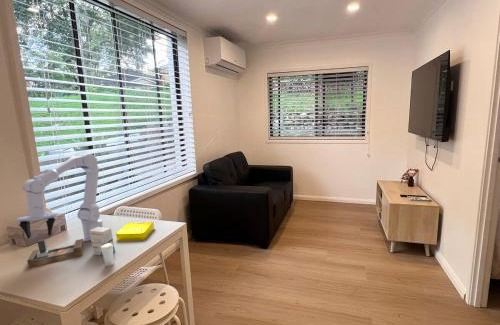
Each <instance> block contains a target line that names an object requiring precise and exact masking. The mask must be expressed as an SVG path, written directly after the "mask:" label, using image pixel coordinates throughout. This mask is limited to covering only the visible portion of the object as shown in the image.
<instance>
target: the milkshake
mask: <svg viewBox="0 0 500 325" xmlns="http://www.w3.org/2000/svg"><path fill="white" fill-rule="evenodd" d="M98 244H99V243H98ZM99 245H100V244H99ZM100 247H101V245H100ZM101 251H102V254H103V255H102V258H103V262H104V266H105V267H112V266H114V263H115V261H114V252H113V245H112V244H111V243H107V244H104V245H103V246H102V247H101Z"/></svg>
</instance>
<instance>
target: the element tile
mask: <svg viewBox="0 0 500 325" xmlns="http://www.w3.org/2000/svg"><path fill="white" fill-rule="evenodd" d="M154 230H155V224H154V222H153V221H138V222H137V221H136V222H135V221H134V222H127V223H126V224H125V225H124V226H123V227H121V228H120V229H118V231H116V233H115V236H116V240H117V242H128V241H129V242H131V241H132V242H133V241H144V240H146V239H147V238H148V237H149V236H150V235H151V234H152V233H153V231H154Z"/></svg>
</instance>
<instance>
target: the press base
mask: <svg viewBox="0 0 500 325" xmlns="http://www.w3.org/2000/svg"><path fill="white" fill-rule="evenodd" d="M83 239H84V238H80V239H76V240H75V243H74V244H72V245H71V244H70V245H65V246H61V247H58V248H53V249H52V248H51V253H50V255H49V257H44V258H40V259H37V253H38V251H39V249H35V250H32V252H31V253H30V255H29V257H28V259H27V265H28V268H33V267H37V266H42V265H45V264H46V265H47V264H50V263H51V264H52V263H55V262H58V261H62V260H68V259H71V258H77V257H81V256H83V254H84V249H85V244H84V242H85V241H84V242H83Z"/></svg>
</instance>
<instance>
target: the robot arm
mask: <svg viewBox="0 0 500 325" xmlns="http://www.w3.org/2000/svg"><path fill="white" fill-rule="evenodd" d="M74 167H79V168H81V169H82V170H83V171H84V172H85V173H86V176H85V182H84V183H85V184H84V185H85V186H84V195H83V202H82V203H81V204H80V206H79V210H78V211H77V214H76V215H77V218H78V219H79V220H80V222H81V226H82V232H83V238H82V239H83V242H88V241H91V238H90V233H89V231H90V230H92V229H94V228H96V227H104V223H103V219H102V218H101V219H100V209H99V208H100V207H99V206H98V204H97V203H96V202H97V192H98V191H97V190H98V181H99V173H100V172H99V170H100V169H99V166H98V158H96V156H95V155H94V154H92V153H76V154H73V155H72V156H70V158H68V159H67V160H65V161H64V162H62V163H61V164H60V165H58V166H56V167H55V168H53V169H52V168H49V169H44V170H43V172H42V173H40V174H39V175H35V176H34V177H33V178H32V179H31V178H30V179H27V180H26V181H25V183H24V184H23V186H22V189H23V191H25V193H26V201H27V209H28V216H21V217H18V218H16V223H17V224H19V227H20V228H21V229H22V230H23V232H24V233H25V235H26V237H27V239H30V238H32V233H31V232H32V231H31V222H36V221H37V222H38V221H45V222H46V225H47V226H46V227H47V235H48V236H51V235H52V231H53V226H54V224H55V221H56V220H57V219H58V218H59V216H58V215H59V214H58V213H46V208H45V201H44V200H45V198H44V192H45V190H46V187H47V186H48V187H49V185H51V184H53V183H54V182H55V181H57V180H58V179H60V177H59V176H60V175H62V174H63V173H65V172H67V171H69V170H71V169H72V168H74Z"/></svg>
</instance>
